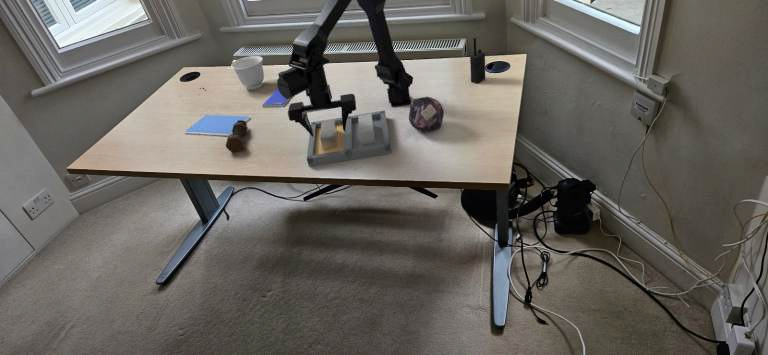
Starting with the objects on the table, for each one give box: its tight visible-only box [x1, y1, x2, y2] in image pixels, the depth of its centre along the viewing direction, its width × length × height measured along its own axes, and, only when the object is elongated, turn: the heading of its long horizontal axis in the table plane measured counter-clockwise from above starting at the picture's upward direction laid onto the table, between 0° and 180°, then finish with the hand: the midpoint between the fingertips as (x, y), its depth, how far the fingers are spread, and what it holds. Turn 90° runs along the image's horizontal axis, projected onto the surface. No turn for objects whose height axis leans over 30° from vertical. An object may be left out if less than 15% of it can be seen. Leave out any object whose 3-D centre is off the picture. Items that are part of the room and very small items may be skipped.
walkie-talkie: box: [469, 37, 486, 84], centre depth 153 cm, size 5×3×15 cm
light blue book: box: [184, 114, 251, 137], centre depth 158 cm, size 19×13×1 cm, turn 70°
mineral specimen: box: [408, 96, 444, 133], centre depth 134 cm, size 10×10×10 cm
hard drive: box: [262, 88, 292, 108], centre depth 169 cm, size 2×8×12 cm
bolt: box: [225, 120, 248, 153], centre depth 146 cm, size 6×5×15 cm
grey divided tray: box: [306, 110, 392, 167], centre depth 136 cm, size 23×21×5 cm
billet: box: [320, 118, 338, 150], centre depth 136 cm, size 4×10×4 cm, turn 4°
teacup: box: [230, 55, 265, 90], centre depth 180 cm, size 12×15×10 cm
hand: (328, 133), depth 135 cm, fingers open, 9 cm apart
